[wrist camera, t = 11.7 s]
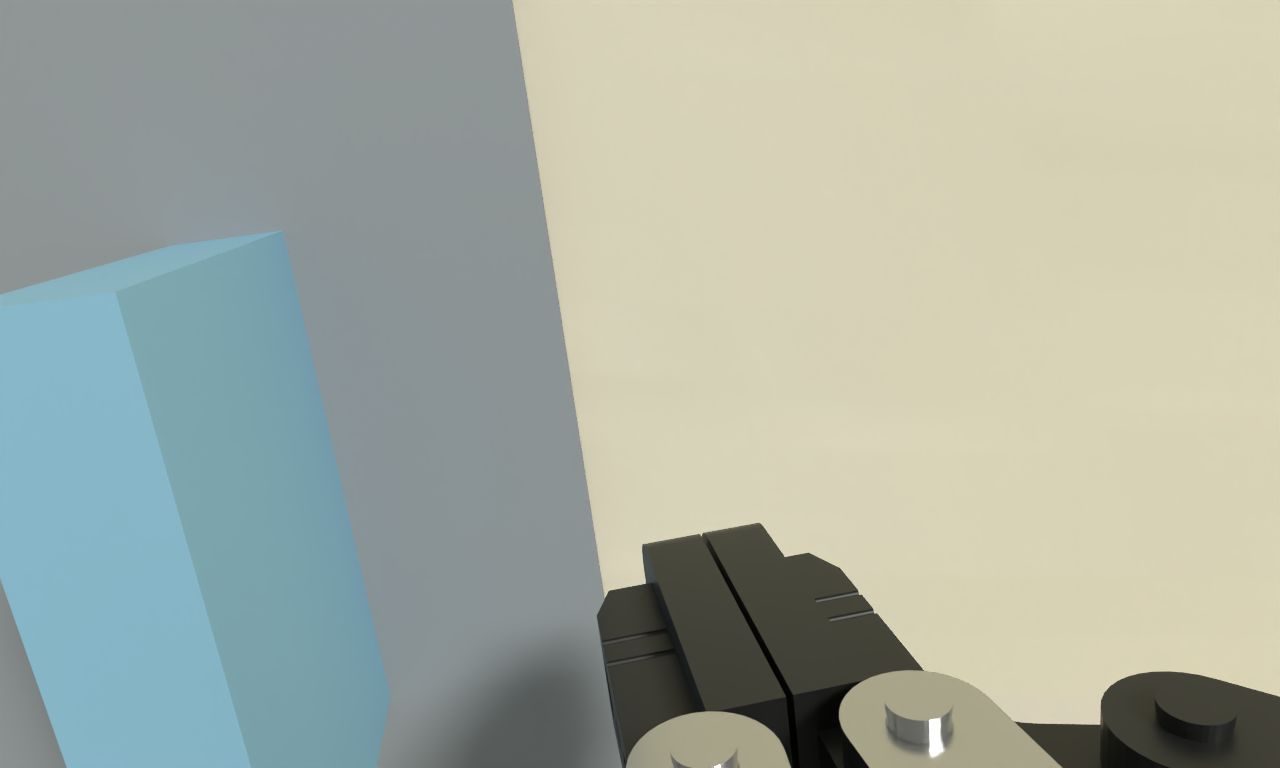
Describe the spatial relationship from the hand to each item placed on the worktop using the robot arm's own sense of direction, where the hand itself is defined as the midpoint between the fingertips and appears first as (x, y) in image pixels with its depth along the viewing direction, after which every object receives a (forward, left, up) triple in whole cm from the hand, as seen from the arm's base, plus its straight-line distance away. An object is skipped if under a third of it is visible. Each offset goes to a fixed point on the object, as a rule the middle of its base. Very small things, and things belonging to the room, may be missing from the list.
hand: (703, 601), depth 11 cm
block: (+6, -1, -4) cm, 7 cm away
